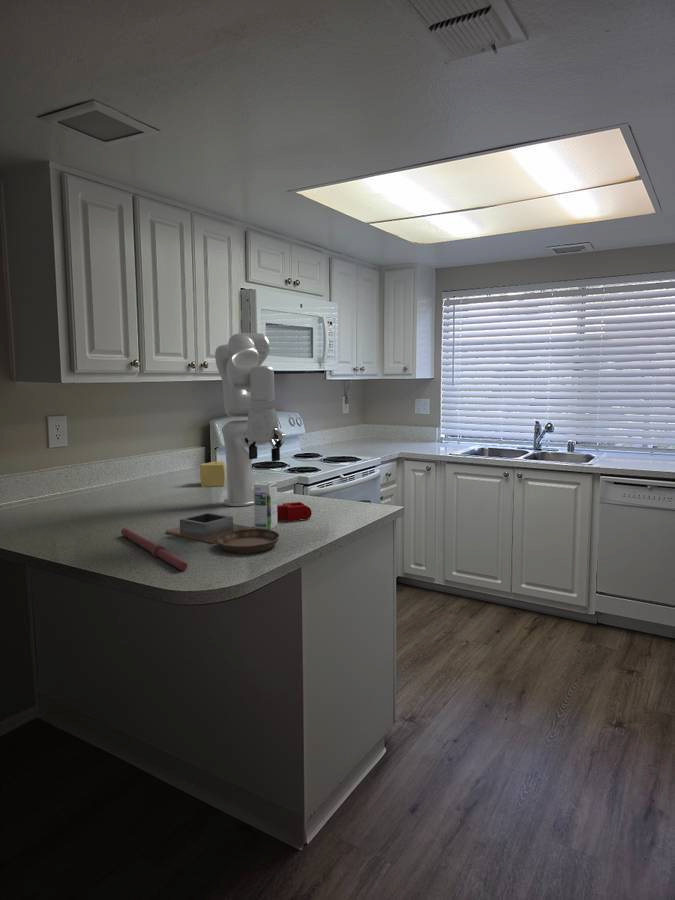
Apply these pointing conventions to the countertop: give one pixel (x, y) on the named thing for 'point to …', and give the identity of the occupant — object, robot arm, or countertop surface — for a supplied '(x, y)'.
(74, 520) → the countertop surface
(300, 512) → the mechanical linkage
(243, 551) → the plant saucer
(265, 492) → the syrup box
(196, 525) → the collar
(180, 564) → the rolling pin
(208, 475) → the cheese
